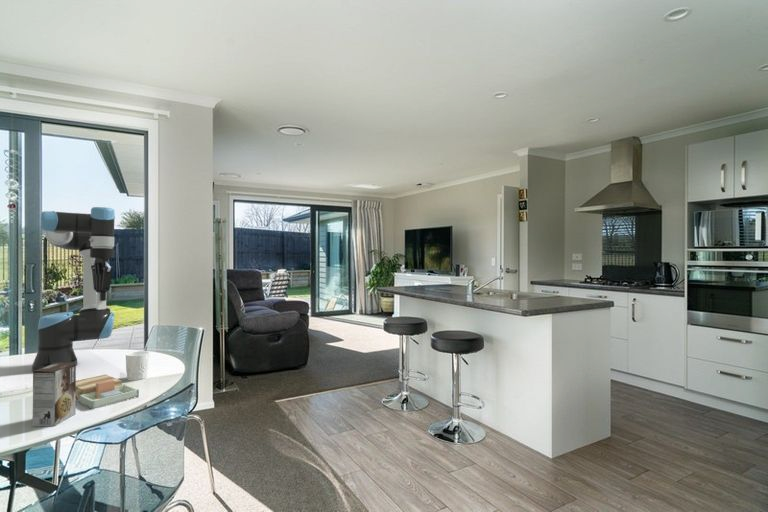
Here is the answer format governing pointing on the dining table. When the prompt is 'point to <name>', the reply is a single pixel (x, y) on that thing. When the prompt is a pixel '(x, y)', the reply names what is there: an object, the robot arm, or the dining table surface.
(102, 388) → the tile
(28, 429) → the dining table surface
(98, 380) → the tan square panel
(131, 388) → the tray
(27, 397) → the dining table surface
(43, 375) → the cookie box
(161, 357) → the dining table surface
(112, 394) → the tile
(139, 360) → the white cup
